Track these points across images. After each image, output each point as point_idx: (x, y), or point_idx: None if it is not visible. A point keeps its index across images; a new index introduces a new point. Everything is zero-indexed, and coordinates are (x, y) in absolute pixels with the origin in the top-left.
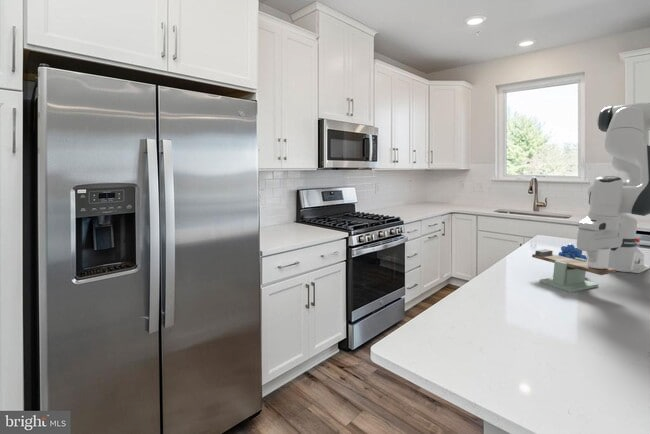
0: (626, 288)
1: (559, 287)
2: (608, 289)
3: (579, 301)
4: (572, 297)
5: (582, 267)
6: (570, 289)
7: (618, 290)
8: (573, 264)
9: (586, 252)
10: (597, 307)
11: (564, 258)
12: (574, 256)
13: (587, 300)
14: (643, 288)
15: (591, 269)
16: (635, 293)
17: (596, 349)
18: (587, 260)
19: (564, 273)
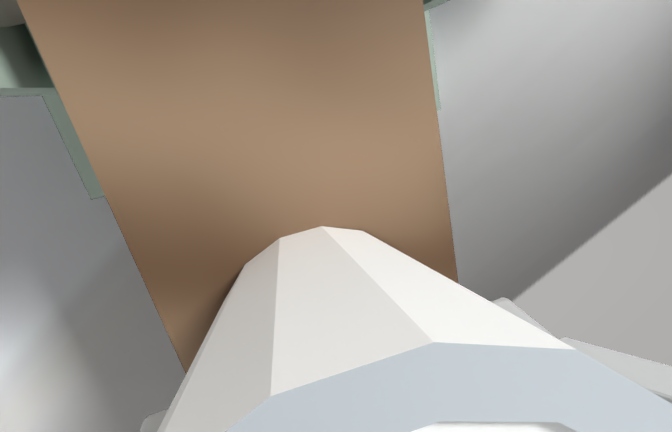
0: (572, 167)
1: (50, 103)
2: (446, 169)
3: (41, 350)
4: (40, 285)
5: (143, 272)
6: (93, 194)
7: (489, 194)
8: (94, 133)
9: (185, 384)
10: (95, 428)
11: None
12: None
13: (117, 336)
14: (658, 180)
15: (185, 371)
16: (529, 248)
17: None
18: (228, 298)
19: (31, 94)
